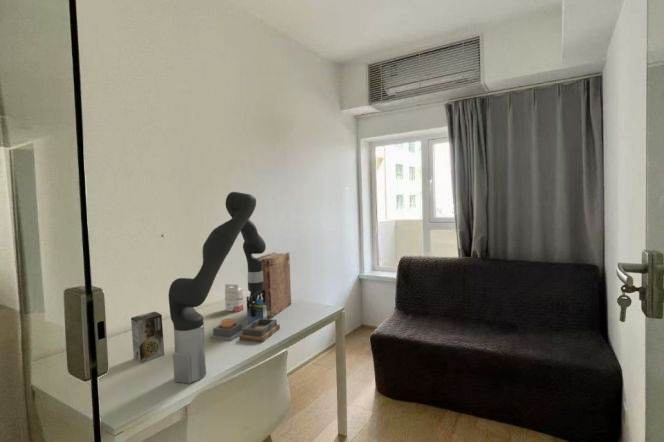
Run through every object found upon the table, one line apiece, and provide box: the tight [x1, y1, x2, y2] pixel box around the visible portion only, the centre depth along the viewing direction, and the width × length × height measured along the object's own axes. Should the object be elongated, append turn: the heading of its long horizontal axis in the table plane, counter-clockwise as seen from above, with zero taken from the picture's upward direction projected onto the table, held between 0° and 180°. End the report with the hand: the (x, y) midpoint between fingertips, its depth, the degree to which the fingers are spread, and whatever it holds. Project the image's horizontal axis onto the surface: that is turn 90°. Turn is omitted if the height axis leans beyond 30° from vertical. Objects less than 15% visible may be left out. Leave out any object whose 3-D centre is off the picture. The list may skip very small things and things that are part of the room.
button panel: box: [209, 322, 243, 341], centre depth 154 cm, size 11×11×4 cm
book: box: [257, 251, 292, 319], centre depth 188 cm, size 25×9×30 cm, turn 163°
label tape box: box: [246, 299, 268, 325], centre depth 169 cm, size 9×4×12 cm, turn 73°
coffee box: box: [130, 311, 165, 364], centre depth 133 cm, size 9×6×16 cm
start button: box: [220, 317, 235, 329], centre depth 154 cm, size 5×5×4 cm
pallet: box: [239, 318, 281, 343], centre depth 154 cm, size 16×11×4 cm
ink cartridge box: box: [224, 284, 244, 313], centre depth 191 cm, size 9×5×15 cm, turn 73°
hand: (257, 314), depth 169 cm, fingers open, 6 cm apart
